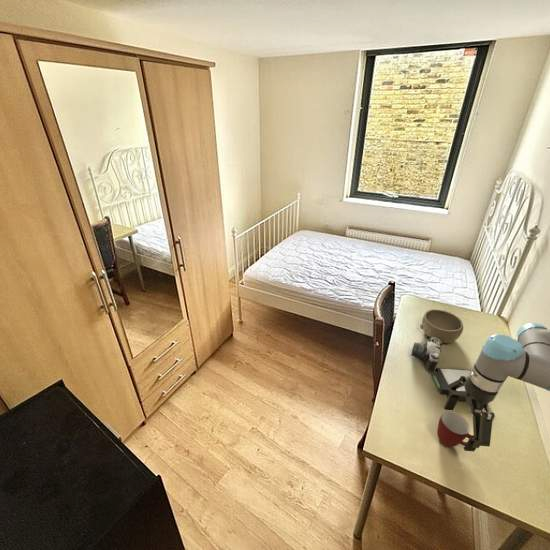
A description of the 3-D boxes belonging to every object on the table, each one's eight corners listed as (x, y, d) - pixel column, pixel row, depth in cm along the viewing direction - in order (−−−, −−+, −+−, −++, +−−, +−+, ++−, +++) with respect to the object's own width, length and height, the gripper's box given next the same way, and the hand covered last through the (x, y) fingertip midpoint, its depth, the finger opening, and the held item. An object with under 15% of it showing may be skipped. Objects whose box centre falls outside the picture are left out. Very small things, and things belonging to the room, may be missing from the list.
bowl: (413, 336, 142) (419, 320, 137) (424, 319, 154) (430, 304, 149) (452, 353, 132) (460, 336, 128) (461, 334, 144) (468, 318, 140)
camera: (412, 344, 137) (417, 327, 133) (436, 351, 133) (443, 334, 129) (409, 366, 125) (415, 349, 120) (435, 375, 121) (442, 357, 116)
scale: (487, 403, 110) (490, 397, 109) (442, 399, 111) (445, 394, 109) (468, 374, 122) (471, 368, 121) (428, 371, 123) (430, 366, 122)
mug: (466, 439, 97) (477, 420, 93) (469, 461, 91) (480, 443, 86) (432, 425, 101) (441, 407, 96) (432, 446, 95) (441, 427, 90)
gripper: (450, 350, 93) (430, 394, 104) (495, 422, 71) (465, 469, 82) (474, 351, 93) (452, 395, 103) (527, 425, 71) (492, 471, 82)
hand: (457, 428), depth 93 cm, fingers open, 13 cm apart
